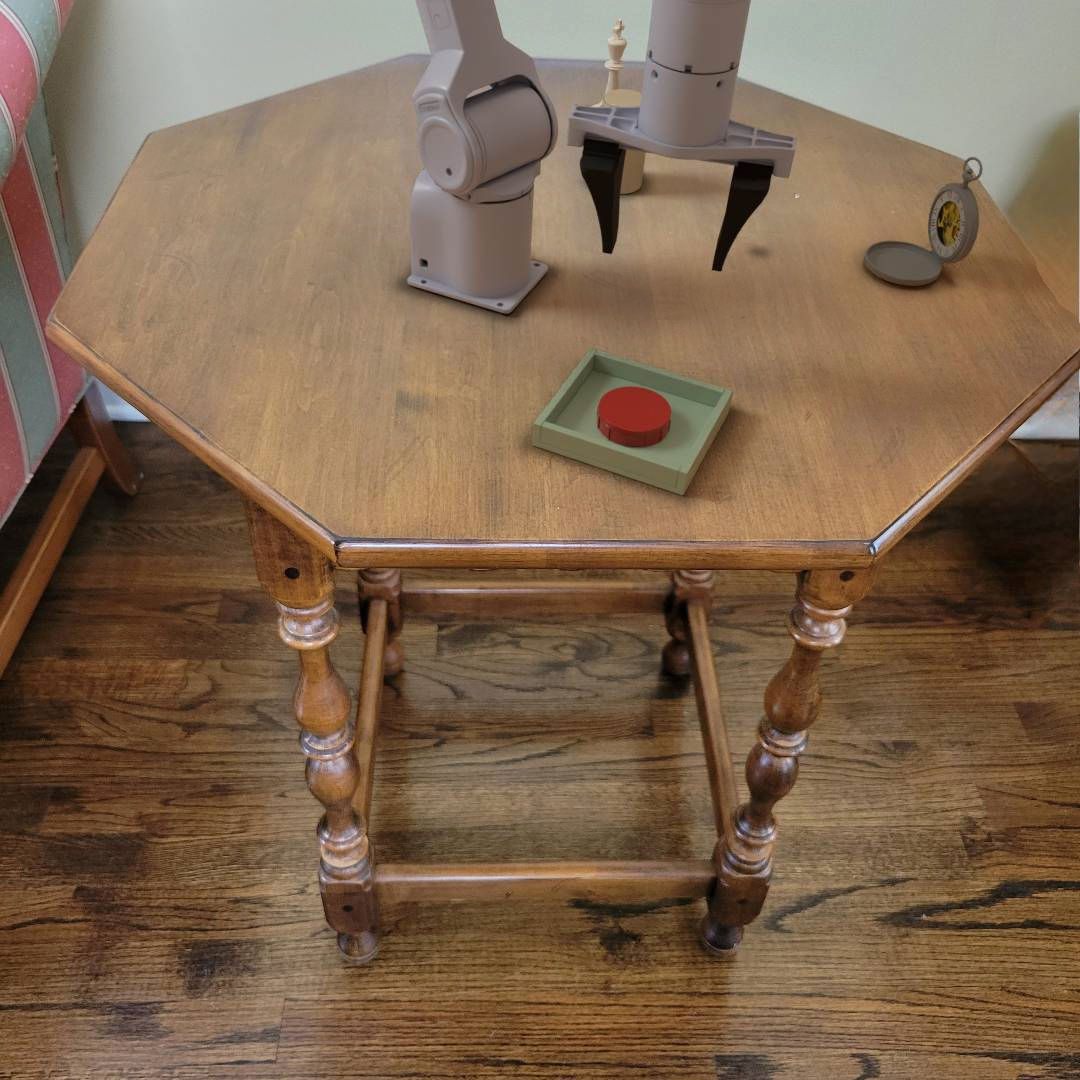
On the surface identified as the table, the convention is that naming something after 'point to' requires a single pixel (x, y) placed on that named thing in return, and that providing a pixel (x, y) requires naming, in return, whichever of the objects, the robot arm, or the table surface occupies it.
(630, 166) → the jar
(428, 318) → the table surface
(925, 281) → the pocket watch
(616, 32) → the chess piece
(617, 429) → the lid
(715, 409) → the tray
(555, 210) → the table surface
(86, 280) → the table surface
